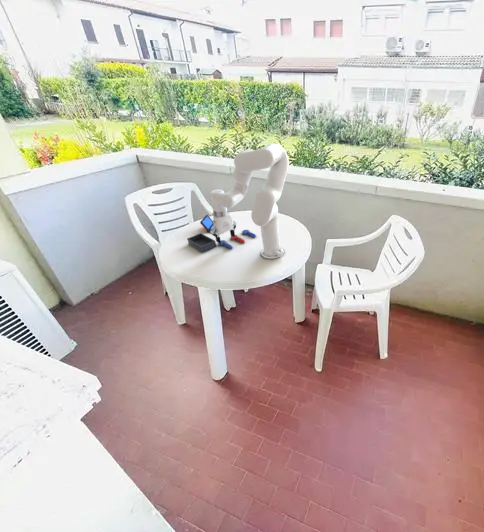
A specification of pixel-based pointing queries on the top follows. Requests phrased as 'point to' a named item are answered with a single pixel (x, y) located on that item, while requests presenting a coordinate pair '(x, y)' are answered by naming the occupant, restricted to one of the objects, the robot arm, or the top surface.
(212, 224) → the handheld console
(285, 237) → the top surface
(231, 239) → the red spoon
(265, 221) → the robot arm
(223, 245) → the blue spoon
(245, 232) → the blue spoon
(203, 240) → the bin
